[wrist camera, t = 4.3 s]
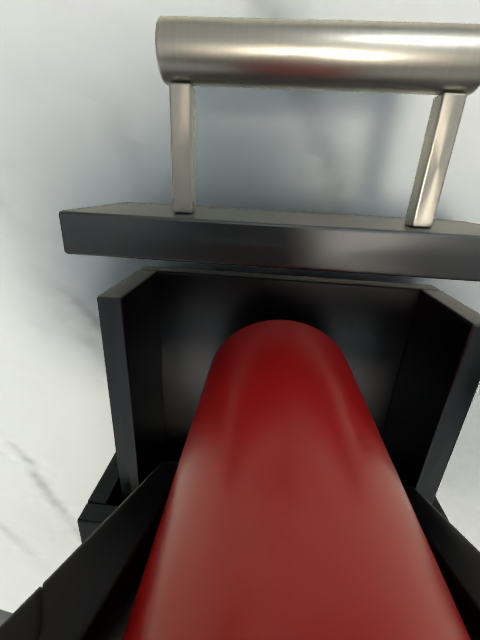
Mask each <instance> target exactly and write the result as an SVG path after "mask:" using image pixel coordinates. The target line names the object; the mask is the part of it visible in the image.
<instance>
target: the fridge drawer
mask: <svg viewBox="0 0 480 640" xmlns="http://www.w3.org/2000/svg"><path fill="white" fill-rule="evenodd" d="M155 45H156V56H157V62H158V67H159V71H160V74H161V77H162V80H163V82H164V83H165V84H167V85H169V97H170V133H171V168H172V203H173V205H169V204H152V203H134V202H125V203H117V204H109V205H101V206H93V207H86V208H78V209H70V210H62V211H60V212H59V218H60V224H61V231H62V237H63V243H64V250H65V253H67V254H77V255H92V256H107V257H122V258H137V259H152V260H167V261H182V262H197V263H212V264H227V265H242V266H257V267H272V268H287V269H302V270H316V271H331V272H346V273H361V274H376V275H391V276H406V277H421V278H436V279H451V280H466V281H480V224H475V223H470V222H465V221H448V220H434V217H435V214H436V210H437V206H438V202H439V199H440V195H441V191H442V187H443V184H444V180H445V176H446V172H447V168H448V165H449V161H450V157H451V153H452V150H453V146H454V142H455V138H456V135H457V131H458V127H459V123H460V119H461V116H462V112H463V108H464V104H465V101H466V97H467V96H468V95H470V94H472V93H473V92H474V91H475V90H476V89H477V88H478V87H479V86H480V24H462V23H423V22H384V21H344V20H305V19H266V18H227V17H187V16H160V17H159V18H158V20H157V23H156V31H155ZM193 86H207V87H234V88H261V89H288V90H315V91H341V92H368V93H395V94H422V95H438V96H437V97H435V98H434V99H433V104H432V108H431V112H430V117H429V121H428V125H427V129H426V134H425V138H424V142H423V147H422V151H421V155H420V159H419V164H418V168H417V172H416V177H415V181H414V185H413V189H412V194H411V198H410V202H409V207H408V211H407V215H406V218H395V217H378V216H361V215H343V214H326V213H308V212H291V211H274V210H256V209H239V208H221V207H204V206H195V89H194V87H193ZM97 302H98V310H99V318H100V326H101V334H102V342H103V350H104V358H105V366H106V374H107V382H108V390H109V398H110V406H111V414H112V422H113V430H114V438H115V446H116V454H117V462H118V470H119V478H120V486H121V494H122V502H124V501H125V499H126V498H127V497H128V496H129V495H130V494H131V493H132V492H133V491H134V490H135V489H136V488H137V487H138V486H139V485H140V484H141V483H142V482H143V481H144V480H145V479H146V478H147V477H148V476H149V475H150V474H151V473H152V472H153V471H154V470H155V469H156V468H157V467H158V466H159V465H160V464H161V463H162V462H164V461H169V462H177V463H179V461H180V458H181V454H182V451H183V448H184V445H185V442H186V439H187V436H188V433H189V430H190V427H191V424H192V420H193V417H194V414H195V411H196V408H197V405H198V402H199V399H200V396H201V393H202V390H203V386H204V383H205V380H206V377H207V374H208V371H209V368H210V365H211V362H212V360H213V357H214V355H215V354H216V352H217V350H218V349H219V347H220V346H221V345H222V344H223V343H224V341H226V340H227V339H228V338H229V337H230V336H231V335H233V334H234V333H236V332H237V331H239V330H240V329H242V328H244V327H246V326H249V325H252V324H254V323H258V322H262V321H268V320H290V321H296V322H300V323H304V324H307V325H309V326H312V327H314V328H316V329H318V330H320V331H321V332H323V333H324V334H326V335H327V336H328V337H330V338H331V339H332V340H333V341H334V342H335V343H336V344H337V345H338V346H339V348H340V349H341V350H342V352H343V354H344V356H345V357H346V359H347V362H348V364H349V366H350V368H351V371H352V373H353V375H354V377H355V380H356V382H357V384H358V386H359V389H360V391H361V393H362V395H363V398H364V400H365V402H366V404H367V407H368V409H369V411H370V413H371V416H372V418H373V420H374V422H375V425H376V427H377V429H378V431H379V434H380V436H381V438H382V440H383V443H384V445H385V447H386V449H387V452H388V454H389V456H390V458H391V461H392V463H393V465H394V467H395V469H396V472H397V474H398V476H399V478H400V481H401V483H402V485H407V486H412V487H414V488H415V489H416V490H417V491H418V492H419V493H420V494H421V495H422V496H423V497H424V498H425V499H426V500H427V501H428V502H429V503H430V504H431V505H432V503H433V500H434V498H435V495H436V492H437V490H438V487H439V485H440V482H441V480H442V477H443V474H444V472H445V469H446V467H447V464H448V461H449V459H450V456H451V454H452V451H453V449H454V446H455V443H456V441H457V438H458V436H459V433H460V430H461V428H462V425H463V423H464V420H465V418H466V415H467V412H468V410H469V407H470V405H471V402H472V399H473V397H474V394H475V392H476V389H477V387H478V384H479V381H480V314H478V313H477V312H475V311H473V310H472V309H470V308H469V307H467V306H465V305H464V304H462V303H460V302H459V301H457V300H456V299H454V298H452V297H451V296H449V295H447V294H446V293H444V292H443V291H440V290H439V289H437V288H436V287H434V286H432V285H421V284H407V283H392V282H377V281H362V280H348V279H333V278H318V277H304V276H289V275H274V274H260V273H245V272H230V271H216V270H201V269H186V268H172V267H157V266H144V267H143V268H141V269H140V270H137V271H136V272H134V273H133V274H131V275H130V276H128V277H127V278H125V279H124V280H122V281H121V282H119V283H118V284H116V285H115V286H113V287H112V288H110V289H109V290H107V291H105V292H104V293H102V294H101V295H99V296H98V297H97Z"/></svg>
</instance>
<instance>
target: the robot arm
mask: <svg viewBox="0 0 480 640" xmlns="http://www.w3.org/2000/svg"><path fill="white" fill-rule="evenodd" d="M178 464H179V463H177V462H169V461H164V462H162V463H161V464H160V465H159V466H158V467H157V468H156V469H155V470H154V471H153V472H152V473H151V474H150V475H149V476H148V477H147V478H146V479H145V480H144V481H143V482H142V483H141V484H140V485H139V486H138V487H137V488H136V489H135V490H134V491H133V492H132V493H131V494H130V495H129V496H128V497H127V498H126V499H125V501H124V502H123V503H122V504H121V505H120V506H119V507H118V508H117V509H116V510H115V511H114V512H113V513H112V514H111V515H110V516H109V517H108V518H107V519H106V520H105V521H104V522H103V523H102V524H101V525H100V526H99V527H98V528H97V529H96V530H95V531H94V532H93V533H92V534H91V535H90V536H89V537H88V538H87V539H86V540H85V541H84V542H83V543H82V544H81V545H80V546H79V547H78V548H77V549H76V550H75V551H74V552H73V553H72V554H71V556H70V557H69V558H68V559H67V560H66V561H65V562H64V563H63V564H62V565H61V566H60V567H59V568H58V569H57V570H56V571H55V572H54V573H53V574H52V575H51V576H50V577H49V578H48V579H47V580H46V581H45V582H44V583H43V588H42V587H39V588H38V589H37V590H36V591H35V592H34V593H33V594H32V595H31V596H30V597H29V598H28V599H27V600H26V601H25V602H24V603H23V604H22V605H21V606H20V607H19V608H18V609H17V610H16V611H15V612H14V613H13V614H12V615H11V616H10V617H9V618H8V619H7V620H6V621H5V622H4V623H3V624H2V625H1V626H0V640H122V637H123V634H124V631H125V628H126V625H127V622H128V618H129V615H130V612H131V609H132V606H133V603H134V600H135V597H136V594H137V591H138V588H139V584H140V581H141V578H142V575H143V572H144V569H145V566H146V563H147V560H148V557H149V554H150V550H151V547H152V544H153V541H154V538H155V535H156V532H157V529H158V526H159V523H160V519H161V516H162V513H163V510H164V507H165V504H166V501H167V498H168V495H169V492H170V489H171V485H172V482H173V479H174V476H175V473H176V470H177V467H178ZM403 487H404V490H405V492H406V494H407V496H408V499H409V501H410V503H411V505H412V508H413V510H414V512H415V514H416V517H417V519H418V521H419V523H420V526H421V528H422V530H423V532H424V535H425V537H426V539H427V541H428V544H429V546H430V548H431V550H432V553H433V555H434V557H435V559H436V562H437V564H438V566H439V568H440V571H441V573H442V575H443V577H444V580H445V582H446V584H447V586H448V589H449V591H450V593H451V595H452V598H453V600H454V602H455V604H456V607H457V609H458V611H459V613H460V616H461V618H462V620H463V622H464V625H465V627H466V629H467V631H468V634H469V636H470V638H471V640H480V552H479V551H478V550H477V549H476V548H475V547H474V546H473V545H472V544H471V543H470V542H469V541H468V540H467V539H466V538H465V537H464V536H463V535H462V534H461V533H460V532H459V531H458V530H457V529H456V528H455V527H454V526H453V525H452V524H451V523H450V522H449V521H448V520H447V519H446V518H445V517H444V516H443V515H442V514H441V513H440V512H439V511H437V510H436V509H435V508H434V507H433V506H432V505H431V504H430V503H429V502H428V501H427V500H426V499H425V498H424V497H423V496H422V495H421V494H420V493H419V492H418V491H417V490H416V489H415V488H414V487H412V486H407V485H403Z"/></svg>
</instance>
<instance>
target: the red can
mask: <svg viewBox="0 0 480 640" xmlns="http://www.w3.org/2000/svg"><path fill="white" fill-rule="evenodd" d="M122 640H471V638H470V636H469V634H468V631H467V629H466V627H465V625H464V622H463V620H462V618H461V616H460V613H459V611H458V609H457V607H456V604H455V602H454V600H453V598H452V595H451V593H450V591H449V589H448V586H447V584H446V582H445V580H444V577H443V575H442V573H441V571H440V568H439V566H438V564H437V562H436V559H435V557H434V555H433V553H432V550H431V548H430V546H429V544H428V541H427V539H426V537H425V535H424V532H423V530H422V528H421V526H420V523H419V521H418V519H417V517H416V514H415V512H414V510H413V508H412V505H411V503H410V501H409V499H408V496H407V494H406V492H405V490H404V487H403V485H402V483H401V481H400V478H399V476H398V474H397V472H396V469H395V467H394V465H393V463H392V461H391V458H390V456H389V454H388V452H387V449H386V447H385V445H384V443H383V440H382V438H381V436H380V434H379V431H378V429H377V427H376V425H375V422H374V420H373V418H372V416H371V413H370V411H369V409H368V407H367V404H366V402H365V400H364V398H363V395H362V393H361V391H360V389H359V386H358V384H357V382H356V380H355V377H354V375H353V373H352V371H351V368H350V366H349V364H348V362H347V359H346V357H345V356H344V354H343V352H342V350H341V349H340V348H339V346H338V345H337V344H336V343H335V342H334V341H333V340H332V339H331V338H330V337H328V336H327V335H326V334H324V333H323V332H321V331H320V330H318V329H316V328H314V327H312V326H309V325H307V324H304V323H300V322H296V321H290V320H268V321H262V322H258V323H254V324H252V325H249V326H246V327H244V328H242V329H240V330H239V331H237V332H236V333H234V334H233V335H231V336H230V337H229V338H228V339H227V340H226V341H224V343H223V344H222V345H221V346H220V347H219V349H218V350H217V352H216V354H215V355H214V357H213V360H212V362H211V365H210V368H209V371H208V374H207V377H206V380H205V383H204V386H203V390H202V393H201V396H200V399H199V402H198V405H197V408H196V411H195V414H194V417H193V420H192V424H191V427H190V430H189V433H188V436H187V439H186V442H185V445H184V448H183V451H182V454H181V458H180V461H179V464H178V467H177V470H176V473H175V476H174V479H173V482H172V485H171V489H170V492H169V495H168V498H167V501H166V504H165V507H164V510H163V513H162V516H161V519H160V523H159V526H158V529H157V532H156V535H155V538H154V541H153V544H152V547H151V550H150V554H149V557H148V560H147V563H146V566H145V569H144V572H143V575H142V578H141V581H140V584H139V588H138V591H137V594H136V597H135V600H134V603H133V606H132V609H131V612H130V615H129V618H128V622H127V625H126V628H125V631H124V634H123V637H122Z"/></svg>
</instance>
